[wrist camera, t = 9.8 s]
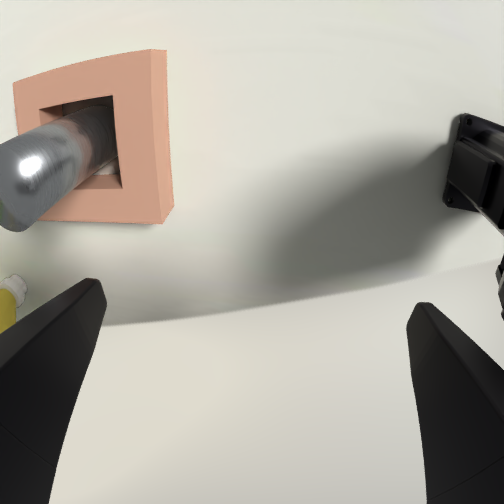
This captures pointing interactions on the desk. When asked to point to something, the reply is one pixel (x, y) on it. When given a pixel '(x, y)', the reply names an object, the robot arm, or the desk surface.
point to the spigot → (52, 163)
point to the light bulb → (10, 300)
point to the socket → (127, 134)
